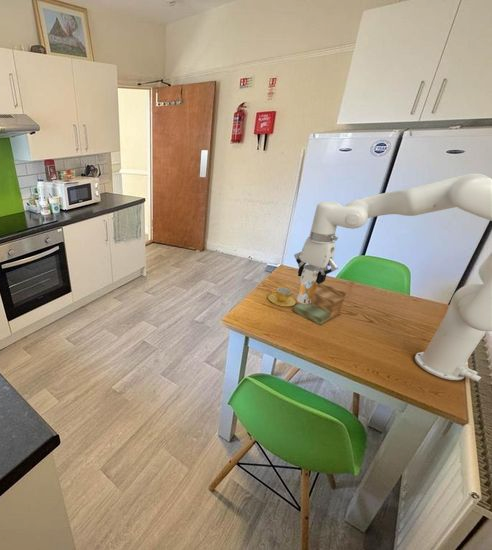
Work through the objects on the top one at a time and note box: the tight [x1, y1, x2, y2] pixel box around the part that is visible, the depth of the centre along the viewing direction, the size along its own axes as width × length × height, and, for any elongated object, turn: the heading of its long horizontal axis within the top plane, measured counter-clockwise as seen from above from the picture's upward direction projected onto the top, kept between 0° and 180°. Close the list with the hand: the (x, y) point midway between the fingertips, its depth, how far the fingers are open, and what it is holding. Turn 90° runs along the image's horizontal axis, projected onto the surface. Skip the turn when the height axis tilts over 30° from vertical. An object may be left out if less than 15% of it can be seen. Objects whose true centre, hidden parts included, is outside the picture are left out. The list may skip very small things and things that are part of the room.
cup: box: [267, 286, 297, 307], centre depth 142 cm, size 12×12×5 cm
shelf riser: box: [292, 282, 348, 326], centre depth 131 cm, size 12×15×11 cm
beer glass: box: [295, 264, 321, 305], centre depth 118 cm, size 7×7×15 cm
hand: (310, 278), depth 117 cm, fingers closed on beer glass, 7 cm apart
